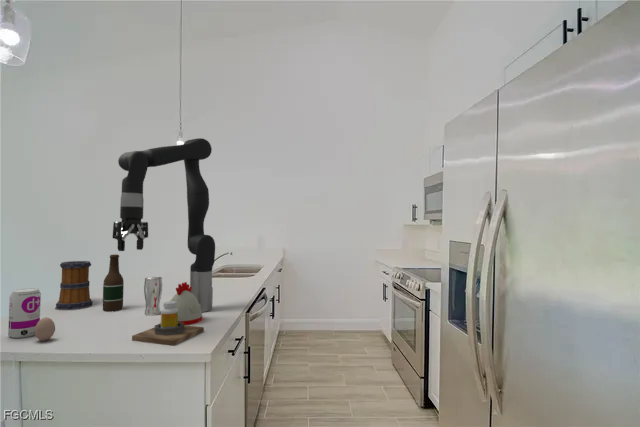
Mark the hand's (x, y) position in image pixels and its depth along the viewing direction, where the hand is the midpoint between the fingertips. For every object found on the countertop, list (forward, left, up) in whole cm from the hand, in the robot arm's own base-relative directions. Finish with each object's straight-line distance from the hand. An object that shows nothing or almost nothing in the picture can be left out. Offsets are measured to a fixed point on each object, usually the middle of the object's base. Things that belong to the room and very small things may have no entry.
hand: (130, 250), depth 134 cm
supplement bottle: (+3, +20, -27) cm, 33 cm away
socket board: (+3, +20, -28) cm, 35 cm away
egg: (+20, -14, -28) cm, 37 cm away
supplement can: (+18, -26, -28) cm, 42 cm away
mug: (-21, -50, -28) cm, 61 cm away
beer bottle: (-20, -28, -28) cm, 45 cm away
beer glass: (-20, -7, -28) cm, 35 cm away
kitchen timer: (-15, +12, -28) cm, 34 cm away
